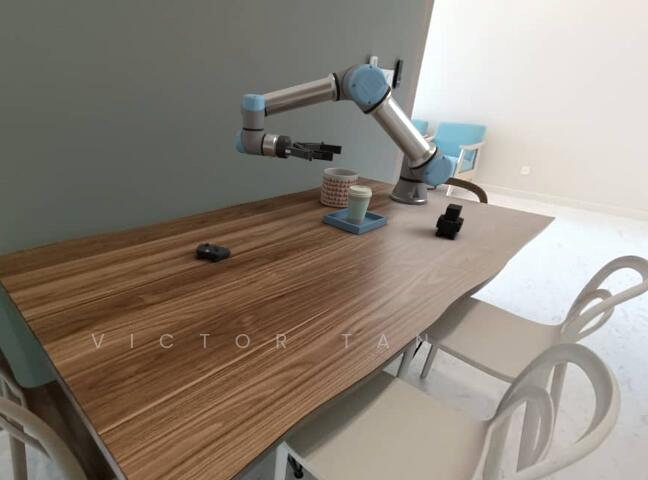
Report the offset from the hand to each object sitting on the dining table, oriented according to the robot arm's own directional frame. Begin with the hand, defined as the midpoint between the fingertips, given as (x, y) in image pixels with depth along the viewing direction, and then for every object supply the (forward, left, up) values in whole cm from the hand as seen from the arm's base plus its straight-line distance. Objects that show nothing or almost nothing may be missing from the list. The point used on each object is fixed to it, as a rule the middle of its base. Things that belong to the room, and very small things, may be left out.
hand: (337, 153), depth 133 cm
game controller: (+54, +1, -23) cm, 59 cm away
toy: (-24, +35, -23) cm, 48 cm away
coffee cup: (-4, +9, -23) cm, 25 cm away
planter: (-18, -10, -23) cm, 31 cm away
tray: (-4, +9, -23) cm, 25 cm away
